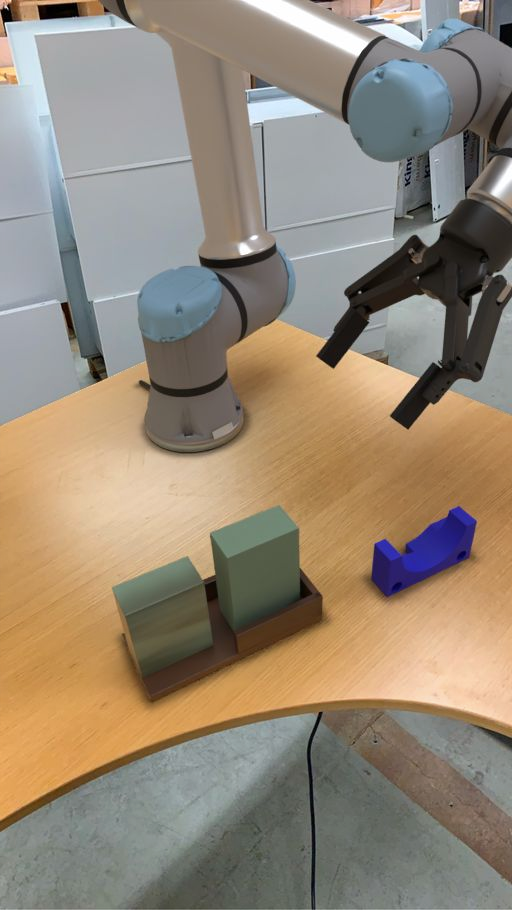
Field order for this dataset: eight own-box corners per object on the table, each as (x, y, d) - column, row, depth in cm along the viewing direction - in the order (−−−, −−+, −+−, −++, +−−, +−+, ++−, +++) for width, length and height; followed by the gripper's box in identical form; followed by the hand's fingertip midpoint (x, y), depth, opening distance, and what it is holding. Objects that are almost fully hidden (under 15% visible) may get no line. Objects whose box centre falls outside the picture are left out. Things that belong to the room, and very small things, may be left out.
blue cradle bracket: (443, 534, 81) (450, 498, 77) (469, 557, 78) (477, 521, 74) (363, 571, 77) (366, 535, 73) (386, 597, 74) (390, 561, 70)
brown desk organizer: (123, 639, 71) (103, 571, 64) (283, 568, 78) (281, 500, 71) (151, 702, 65) (132, 634, 58) (322, 619, 72) (323, 550, 65)
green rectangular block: (219, 609, 72) (209, 532, 65) (282, 581, 75) (279, 504, 68) (235, 635, 70) (226, 558, 62) (300, 605, 72) (299, 527, 65)
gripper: (611, 282, 58) (455, 466, 62) (430, 207, 76) (318, 355, 80) (584, 235, 53) (416, 439, 57) (397, 167, 71) (279, 327, 75)
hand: (358, 391), depth 69 cm, fingers open, 13 cm apart
